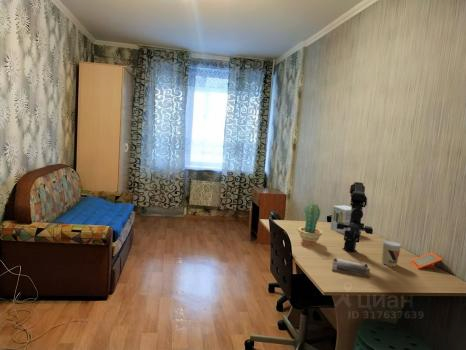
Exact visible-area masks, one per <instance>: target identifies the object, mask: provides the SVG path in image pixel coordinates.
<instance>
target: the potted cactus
mask: <svg viewBox="0 0 466 350" xmlns="http://www.w3.org/2000/svg"><path fill="white" fill-rule="evenodd" d="M303 210H304V211H303V212H304V217H305V226H301V227H298V229H297V232H298V233H299V237H300V239H301V242H302V243H303V244H305V245H311V246H312V245H313V246H315V245H316V244H317V241H318V240H319V239H320V237H321V236H322V235H323V231H322V230H321V229H319V228H317V223H318V221H319V219H320V217H321V209H320V207H319V205H318V204H316V203H312V202H311V203H310V204H307V205H305V207H304V209H303Z"/></svg>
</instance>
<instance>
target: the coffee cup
mask: <svg viewBox="0 0 466 350" xmlns="http://www.w3.org/2000/svg"><path fill="white" fill-rule="evenodd" d="M401 248H402V245H401V244H400V243H399V242H395V241H392V240H384V241H383V242H382V249H381V250H382V253H381V264H383V263H384V264H386V265H385V266H387V265H391V266H390V267H392V266H394V265H396V266H397V265H398V260H399V257H400V252H401V251H400V250H401ZM384 264H383V265H384ZM394 267H395V266H394Z"/></svg>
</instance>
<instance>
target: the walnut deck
mask: <svg viewBox="0 0 466 350" xmlns="http://www.w3.org/2000/svg"><path fill="white" fill-rule="evenodd" d="M364 264H365V268H366V271H365V274H364V273H359V272H354V271H348V270H343V269H338V268H337V258H336V257H335V258H333V261H332V268H331V271H332V272H334V273H341V274H345V275H352V276H356V277H362V278H366V279H367V278H368V279H369V278H370V272H369V266H368V263H364Z"/></svg>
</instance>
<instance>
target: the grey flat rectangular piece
mask: <svg viewBox="0 0 466 350" xmlns="http://www.w3.org/2000/svg"><path fill="white" fill-rule="evenodd" d="M336 260H337V268H338V269H343V270H348V271H354V272H359V273H364V274H365V271H366V268H365V264H366V263H365V262H362V261H357V260H351V259H345V258H339V257H337V258H336Z"/></svg>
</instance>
